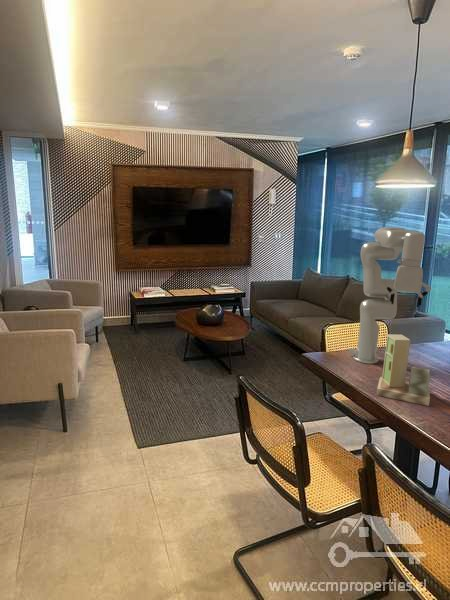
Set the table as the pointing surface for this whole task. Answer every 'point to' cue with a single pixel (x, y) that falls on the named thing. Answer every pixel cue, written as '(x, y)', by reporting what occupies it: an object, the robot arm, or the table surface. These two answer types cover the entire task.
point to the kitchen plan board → (403, 395)
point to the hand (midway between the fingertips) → (404, 305)
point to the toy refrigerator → (396, 360)
